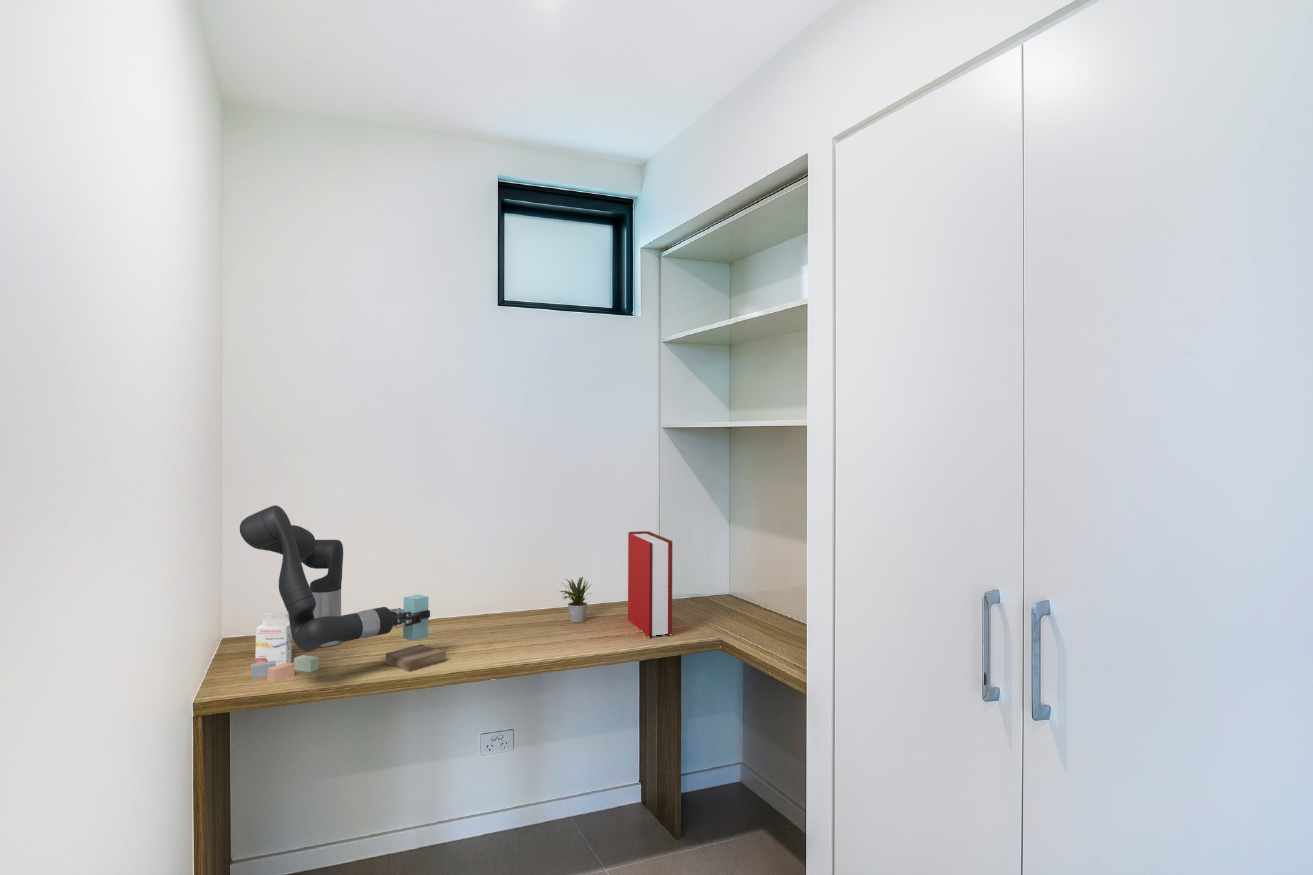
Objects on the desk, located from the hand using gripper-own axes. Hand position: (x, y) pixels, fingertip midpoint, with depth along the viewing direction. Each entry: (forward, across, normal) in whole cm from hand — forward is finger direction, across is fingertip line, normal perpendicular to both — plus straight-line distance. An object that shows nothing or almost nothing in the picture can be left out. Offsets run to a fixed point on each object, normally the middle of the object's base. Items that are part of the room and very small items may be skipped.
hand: (423, 612), depth 219 cm
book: (+72, -29, +14) cm, 79 cm away
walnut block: (-2, 0, +14) cm, 14 cm away
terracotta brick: (-33, +17, +15) cm, 40 cm away
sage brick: (-25, +19, +15) cm, 35 cm away
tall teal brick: (-3, 0, +7) cm, 7 cm away
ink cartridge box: (-29, +30, +15) cm, 45 cm away
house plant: (+64, -2, +14) cm, 65 cm away
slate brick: (-35, +23, +15) cm, 45 cm away
